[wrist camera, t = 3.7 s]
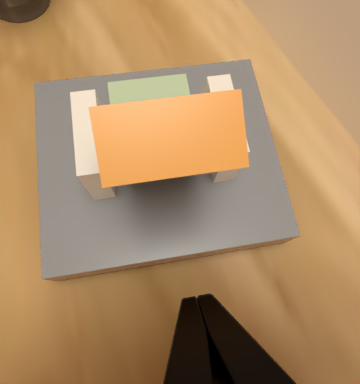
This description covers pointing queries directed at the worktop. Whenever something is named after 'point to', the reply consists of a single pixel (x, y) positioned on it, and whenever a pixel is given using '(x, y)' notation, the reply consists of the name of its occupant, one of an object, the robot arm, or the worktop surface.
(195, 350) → the robot arm
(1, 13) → the beverage cup
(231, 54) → the worktop surface
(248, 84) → the breaker base
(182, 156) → the lever
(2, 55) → the worktop surface
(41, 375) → the worktop surface
